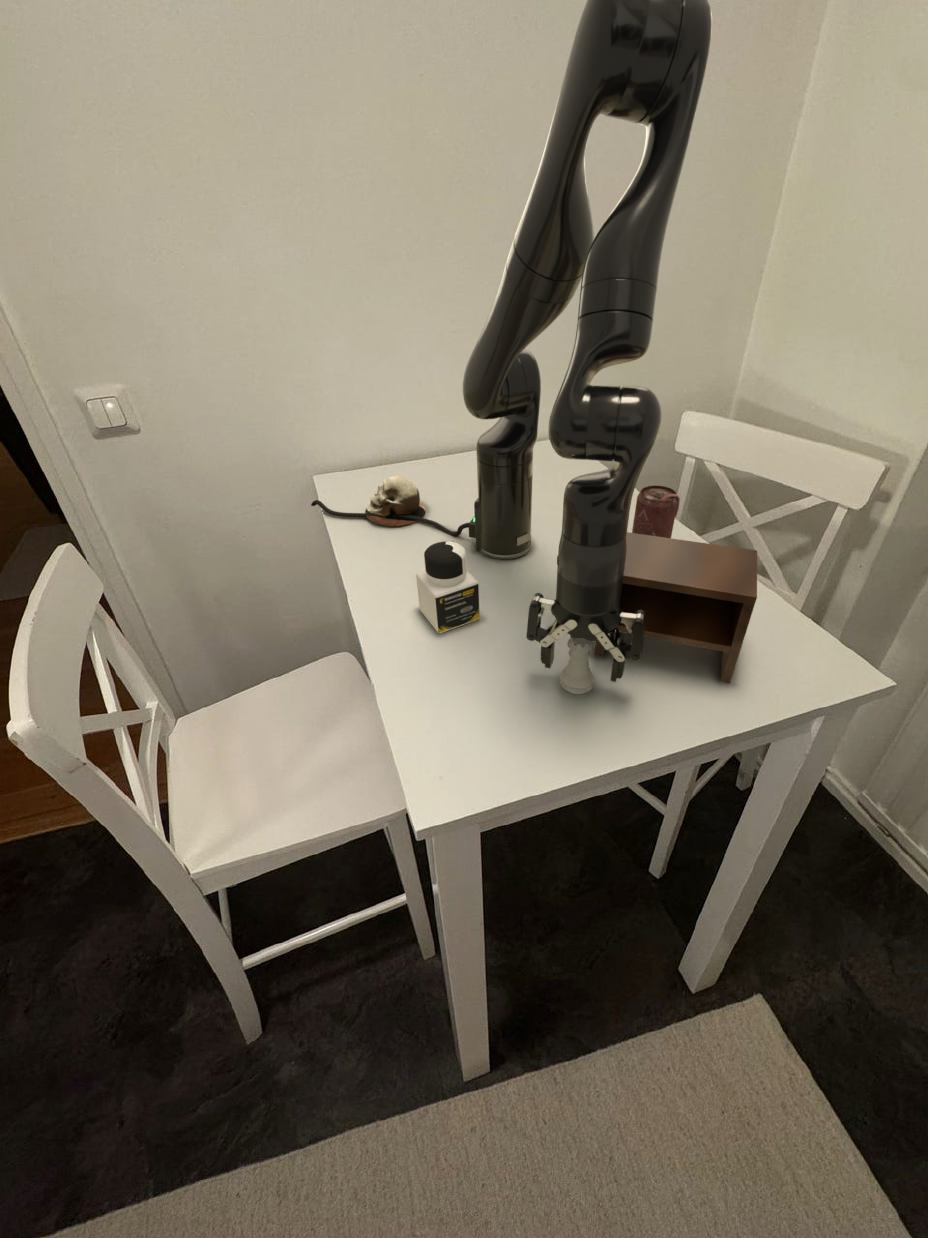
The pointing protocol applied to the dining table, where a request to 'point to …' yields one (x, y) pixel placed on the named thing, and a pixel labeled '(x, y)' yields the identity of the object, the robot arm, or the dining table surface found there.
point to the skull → (395, 502)
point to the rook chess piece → (578, 667)
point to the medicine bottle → (447, 587)
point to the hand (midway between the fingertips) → (581, 670)
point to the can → (655, 511)
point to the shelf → (690, 593)
